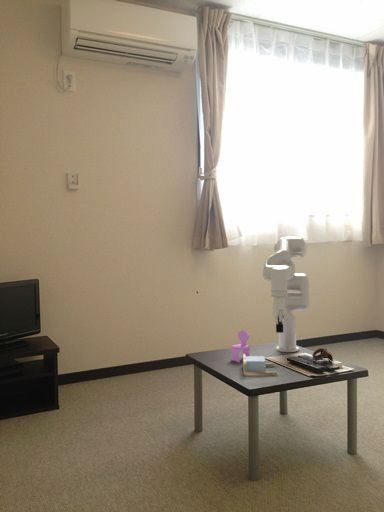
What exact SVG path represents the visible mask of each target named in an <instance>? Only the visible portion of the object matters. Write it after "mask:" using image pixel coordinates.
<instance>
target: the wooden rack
mask: <svg viewBox="0 0 384 512" xmlns="http://www.w3.org/2000/svg"><path fill="white" fill-rule="evenodd" d="M274 367H275V363H274V362H272V363H271V362H270V363H268V362H266V368H274ZM242 369H243V370H242V371H243V376H244V377H245V376H257V377H258V376H261V377H263V376H270V377H271V376H273V377H275V376H278V372H277V371H266V372H246V355H245V354H243V353H242Z"/></svg>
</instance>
